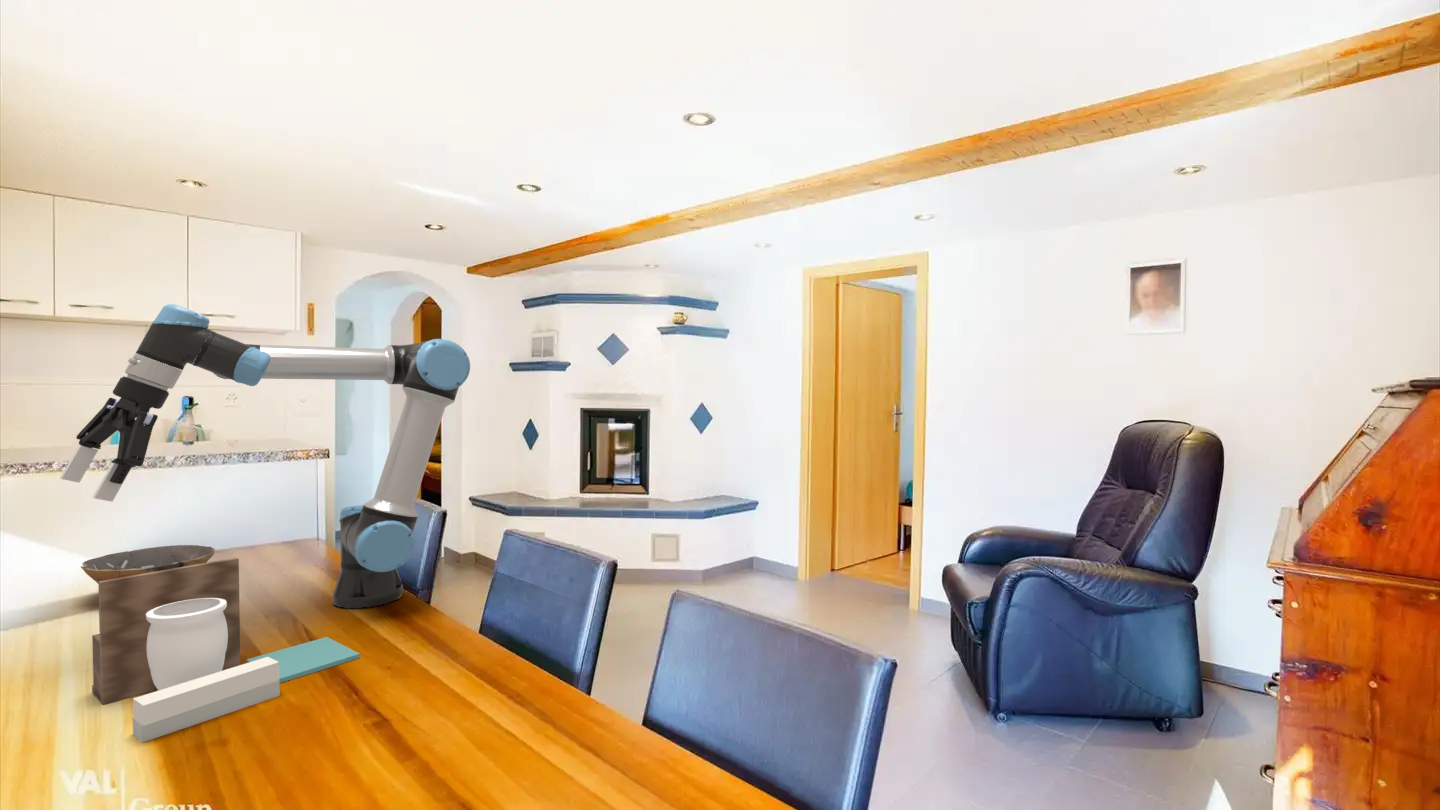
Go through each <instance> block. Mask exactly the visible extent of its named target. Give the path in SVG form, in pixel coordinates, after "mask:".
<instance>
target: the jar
mask: <svg viewBox="0 0 1440 810" xmlns="http://www.w3.org/2000/svg"><path fill="white" fill-rule="evenodd" d="M226 607H227V603H226V600H224V599H220V598H199V599H191V600H184V601H179V602H174V603H170V604H166V605H162V606H159V607H156V608H154V609H152V610H150V611H148V612H147V613H146V619H147V621H148V622H150V623H151V625H150V628H149V631H148V636H147V647H146V650H147V659H148V664H149V667H150V670H151V677H152V680H153V683H154V685H155V686H156V688H157V691H159V690H162V689H165V688H169V687H172V686H175V685H178V684H181V683H185V682H188V681H191V680H194V679H197V678H201V677H204V676H207V675H210V674H214V673H217V672H220V671H222V669H223V665H224V660H225V653H226V649H227V642H228V629H227V623H226V618H225V615H224V613H223V611H224V610H225V609H226Z"/></svg>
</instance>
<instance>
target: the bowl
mask: <svg viewBox="0 0 1440 810" xmlns="http://www.w3.org/2000/svg"><path fill="white" fill-rule="evenodd" d="M215 553H216V549H215V548H214V547H212V546H205V545H196V544H178V545H166V546H165V545H164V546H163V545H162V546H154V547H147V548H141V549H133V550H126V551H122V552H121V551H119V552H114V553H110V554H105V555H103V556H98V557H95V558H91V559H88V560H86V561H83V562H82V565H81V566H80V568H81V570H82V571H83V572H84V573H85V574H86V575H87V576H88V577H90V579H91V580H93V581H94V582H96V584H98V581H104V580H110V579H116V578H121V577H127V576H133V575H139V574H144V573H150V572H156V571H162V570H167V569H173V568H179V567H185V566H190V565H196V564H202V563H208V561H209V560H211V558H212V557H213V556H214V555H215Z"/></svg>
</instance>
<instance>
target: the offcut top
mask: <svg viewBox="0 0 1440 810" xmlns="http://www.w3.org/2000/svg"><path fill="white" fill-rule="evenodd" d="M277 680H279V662H278V661H276V660H274V659H271V658H269V657H265V658H262V659H259V660H255V661H252V662H249V663H243V664H240V665H239V666H236V667H233V668H230V669H226V670H223V671H220V672H217V673H214V674H210V675H207V676H204V677H201V678H197V679H194V680H191V681H188V682H185V683H181V684H178V685H175V686H172V687H169V688H165V689H162V690H155V691H151V692H148V693H147V694H146V693H145V694H142V695H140V696H137V697H136V696H135V697H133V698H132V714H133V715H132V716H133V717H132V719H133V718H134V719H135V720H136V721H138V722H139V723H140V724H142V725H143V726H145V725H148V724H151V723H154V722H157V721H160V720H163V719H166V718H169V717H172V716H174V715H177V714H180V713H183V712H186V711H189V710H192V709H195V708H198V707H201V706H204V705H207V704H210V703H213V702H215V701H218V700H221V699H224V698H227V697H230V696H233V695H236V694H239V693H242V692H245V691H248V690H251V689H254V688H256V687H259V686H262V685H265V684H268V683H271V682H274V681H277Z"/></svg>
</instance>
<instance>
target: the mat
mask: <svg viewBox="0 0 1440 810" xmlns="http://www.w3.org/2000/svg"><path fill="white" fill-rule="evenodd" d="M265 657H269V658H271V659H274V660H276V661H278V662H279V682H280V684H283V683H285V682H288V680H289V681H292V680H294V679H298V678H301V677H304V676H308V675H310V674H313V673H314V674H315V673H317V672H319V671H323V670H327V669H329V668H332V667H336V666H339V665H341V664H344V663H349V662H350V661H353V660H354V661H355V660H357V659H360V658H361V654H360V653H359V652H357V651H355V650H353V649H351V648H350V647H347V646H345V645H344V644H342V643H340V642H338V641H336V640H334V639H331V638H330V637H328V636H324V637H322V638H318V639H314V640H311V641H307V642H304V643H300V644H296V645H293V646H289V647H286V648H285V647H284V648H282V649H279V650H275V651H272V652H268V653H265V654H262V655H258V656H254V657H251V658H246V663H249V662H252V661H255V660H259V659H262V658H265ZM246 663H245V664H246Z"/></svg>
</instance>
